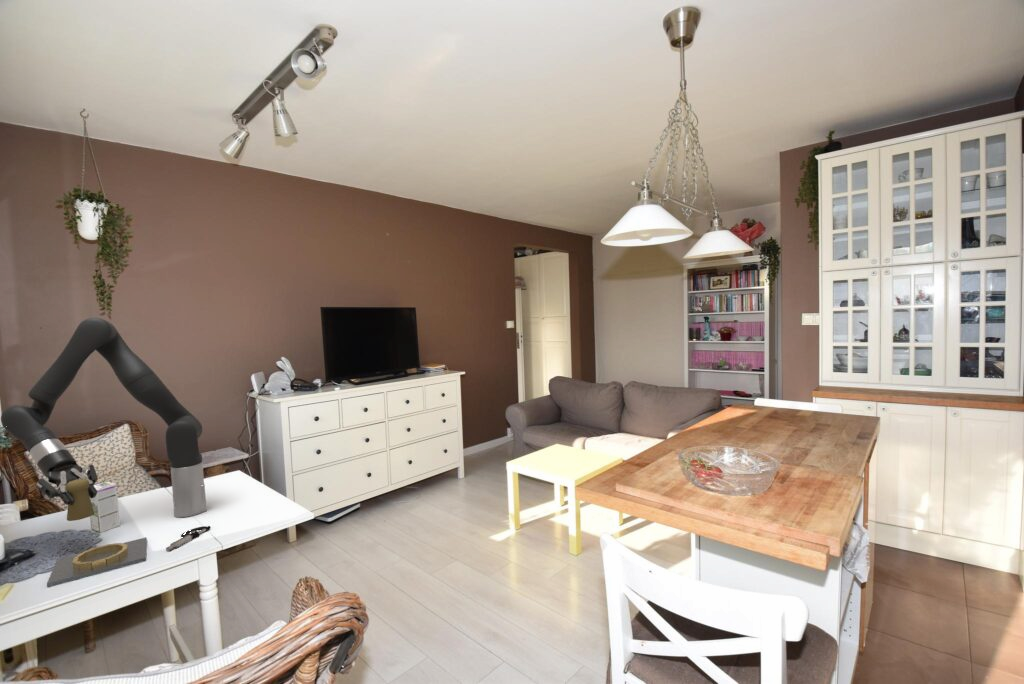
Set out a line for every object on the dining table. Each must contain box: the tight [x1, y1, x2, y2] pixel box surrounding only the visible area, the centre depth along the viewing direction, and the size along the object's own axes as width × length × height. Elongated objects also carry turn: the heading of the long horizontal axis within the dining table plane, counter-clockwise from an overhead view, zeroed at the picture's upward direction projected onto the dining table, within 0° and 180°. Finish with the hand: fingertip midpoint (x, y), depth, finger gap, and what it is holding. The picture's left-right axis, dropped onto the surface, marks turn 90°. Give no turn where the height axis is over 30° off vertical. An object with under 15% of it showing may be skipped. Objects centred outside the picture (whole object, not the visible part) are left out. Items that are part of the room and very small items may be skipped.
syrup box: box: [89, 481, 121, 533], centre depth 156 cm, size 6×6×14 cm
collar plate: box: [46, 537, 148, 588], centre depth 133 cm, size 20×16×2 cm
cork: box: [66, 478, 94, 522], centre depth 140 cm, size 6×6×11 cm
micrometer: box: [165, 525, 211, 552], centre depth 146 cm, size 15×7×2 cm, turn 167°
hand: (83, 499), depth 139 cm, fingers closed on cork, 5 cm apart
